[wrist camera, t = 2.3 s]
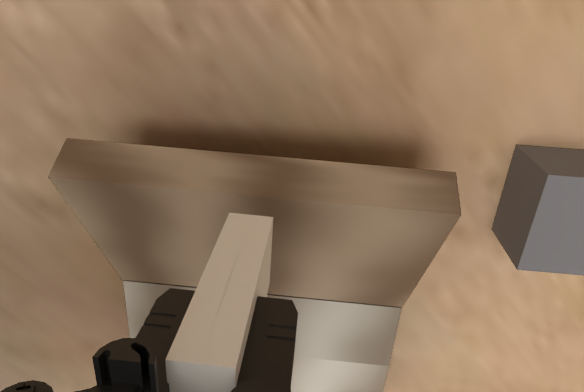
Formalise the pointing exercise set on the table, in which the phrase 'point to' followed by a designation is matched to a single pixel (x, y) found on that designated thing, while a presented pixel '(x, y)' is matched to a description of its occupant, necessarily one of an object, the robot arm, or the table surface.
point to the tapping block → (543, 210)
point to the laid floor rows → (313, 338)
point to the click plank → (264, 202)
